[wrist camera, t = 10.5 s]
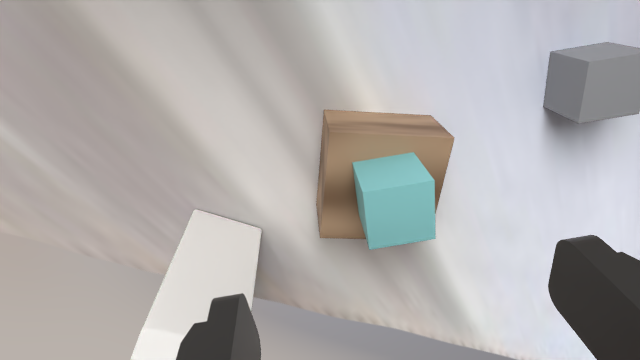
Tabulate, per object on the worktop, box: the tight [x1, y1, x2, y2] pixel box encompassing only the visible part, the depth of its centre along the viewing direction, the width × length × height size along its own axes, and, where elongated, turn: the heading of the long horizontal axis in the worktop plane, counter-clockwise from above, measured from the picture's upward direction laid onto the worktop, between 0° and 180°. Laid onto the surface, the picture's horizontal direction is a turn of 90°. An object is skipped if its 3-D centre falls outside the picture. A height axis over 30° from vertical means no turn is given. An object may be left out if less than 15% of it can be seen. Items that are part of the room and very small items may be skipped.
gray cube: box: [543, 42, 640, 124], centre depth 32 cm, size 5×5×5 cm
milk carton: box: [131, 209, 262, 360], centre depth 32 cm, size 7×7×19 cm
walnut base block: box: [316, 110, 454, 239], centre depth 35 cm, size 10×10×6 cm
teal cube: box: [352, 152, 435, 250], centre depth 29 cm, size 5×5×5 cm
